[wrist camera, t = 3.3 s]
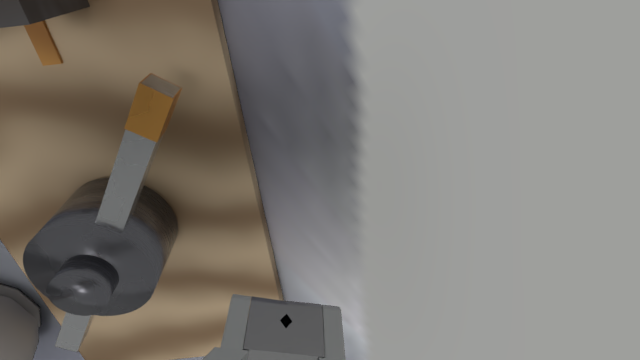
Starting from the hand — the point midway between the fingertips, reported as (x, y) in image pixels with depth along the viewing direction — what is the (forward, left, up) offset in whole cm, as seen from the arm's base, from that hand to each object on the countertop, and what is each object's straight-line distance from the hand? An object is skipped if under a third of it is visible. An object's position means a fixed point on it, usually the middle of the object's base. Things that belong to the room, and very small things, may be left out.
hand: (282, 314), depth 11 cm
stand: (-12, +6, -16) cm, 21 cm away
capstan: (-10, +6, -14) cm, 18 cm away
